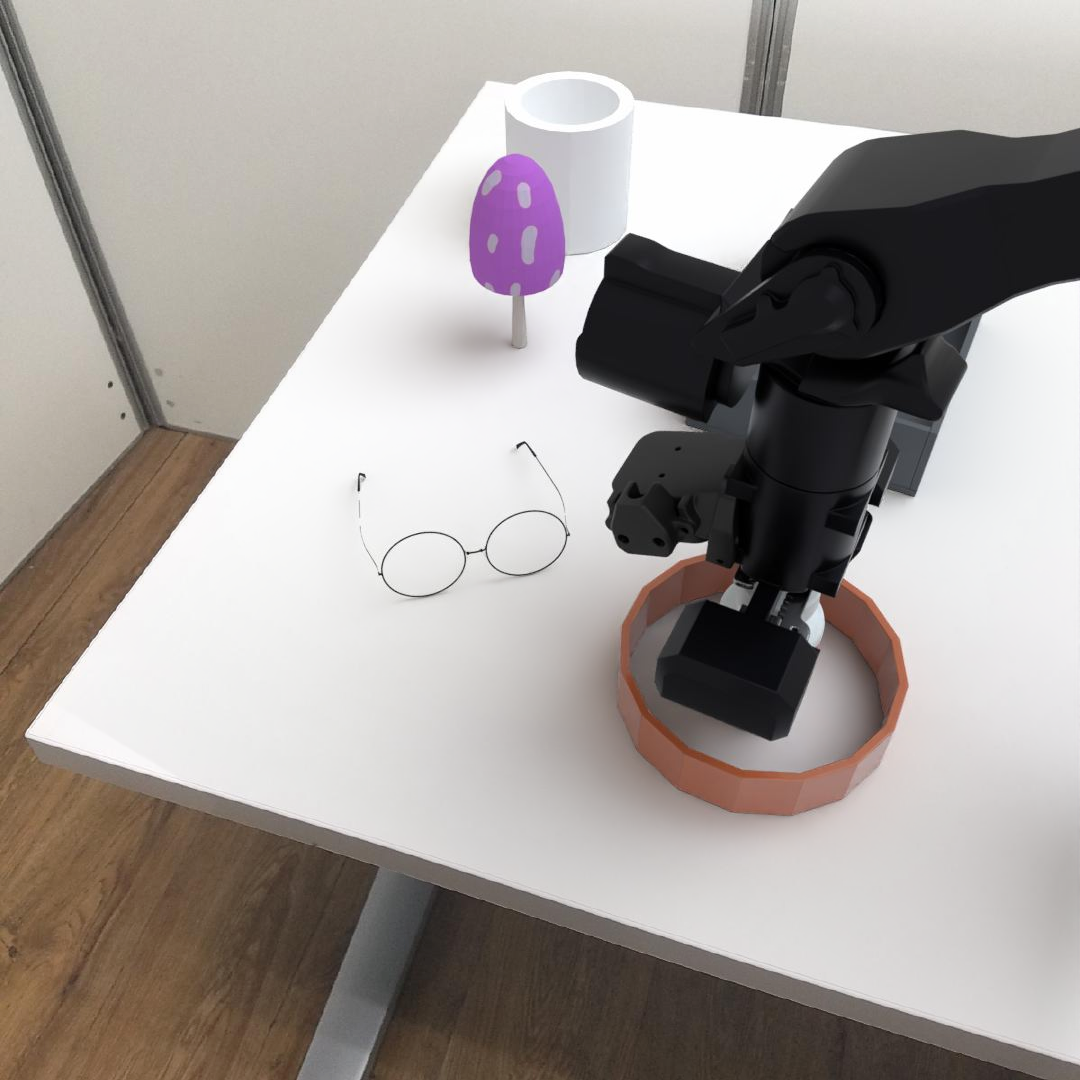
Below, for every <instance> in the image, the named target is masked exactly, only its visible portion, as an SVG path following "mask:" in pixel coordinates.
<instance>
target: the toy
mask: <svg viewBox="0 0 1080 1080" xmlns="http://www.w3.org/2000/svg"><path fill="white" fill-rule="evenodd" d="M468 235H469V236H468V252H469V263H470V269H471V273H472V275H473V278H474V279H475V280H476V281H477V283H478V284H479V285H480V286H482V287H483V288H484V289H486V290H488V291H490V292H491V293H494V294H498V295H501V296H509V297H512V299H511V300H512V304H511V305H512V306H511V307H512V310H511V311H512V312H511V315H512V316H511V322H512V323H511V345H512V346H513V348H515V349H523V348H525V347H526V346H527V345H528V336H527V335H528V334H527V319H526V317H527V316H526V305H525V297H526V296H531V295H537V294H540V293H542V292H544V291H546V290H549V289H550V288H552V287H553V286H554V285H555V284H556V283H558V281H560V279H561V277H562V275H564V269H565V261H566V254H565V233H564V224H563V219H562V215H561V210H560V206H559V202H558V198H557V196H556V193H555V190H554V188H553V185H552V183H551V182H550V180H549V178H548V177H547V175H546V173H545V172H544V170H543V169H542V168H541V167H540V166H539V165H538V164H537V163H536V162H535V161H534V160H533V159H531V158H529V157H527V156H524V155H521V154H509V155H507V156H506V155H503V156H502V157H499V158H498V159H497V160H496V161H495V162H494V163H493V164H492V165H491V166H490V167H489V168H488V169H487V171H486V172H485V174H484V176H483V178H482V180H481V181H480V184H479V185H478V188H477V190H476V194H475V197H474V200H473V203H472V208H471V214H470V220H469V234H468Z"/></svg>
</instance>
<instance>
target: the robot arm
mask: <svg viewBox="0 0 1080 1080" xmlns="http://www.w3.org/2000/svg"><path fill="white" fill-rule="evenodd" d="M785 217H786V216H785ZM785 217H784V218H785ZM783 220H784V219H783ZM783 220H782V221H781V223H780V224H779V226H778V227H777V228H776V229H775V231H773V233H772V234H771V236H770V238H768V239H767V240H766V241H765V242H764V244H763V245H762V246H761V247H760V249H759V250H758V251H757V252H756V254H755V255H754V256H753V257H752V259H751V260H750V261H749V262H748V263H747V264H746V266H745V267H744V268H743V269H742V271H739V270H736V269H733V268H730V267H726V266H724V265H720V264H717V263H714V262H710V261H708V260H705V259H701V258H698V257H695V256H692V255H688V254H686V253H682V252H679V251H677V250H673V249H671V248H669V247H667V246H665V245H663V244H661V243H660V242H658V241H656V240H653V239H651V238H648V237H646V236H643V235H639V234H636V233H634V232H633V233H632V232H629V233H627V234H626V235H625V236H624V237H623V238H621V239H620V240H619V241H618V242H617V243H616V244H615V245H614V247H613V248H612V249H610V251H609V252H608V253H607V254H606V255H605V256H604V258H603V277H602V279H601V280H600V283H599V285H598V287H597V288H596V290H595V292H594V295H593V297H592V299H591V302H590V304H589V307H588V310H587V312H586V316H585V319H584V323H583V326H582V331H581V333H580V334H579V335H578V337H577V339H576V341H575V348H574V349H575V351H574V357H575V367H576V370H577V372H578V373H577V374H578V375H579V376H580V378H581V379H583V380H586V381H588V382H591V383H593V384H597V385H599V386H602V387H604V388H607V389H610V390H612V391H614V392H618V393H621V394H622V395H625V396H628V397H631V398H634V399H635V400H638V401H642V402H644V403H647V404H650V405H652V406H655V407H658V408H660V409H663V410H665V411H669V412H671V413H674V414H676V415H678V416H681V417H685V418H686V417H687V418H690V419H692V420H695V421H700V422H703V423H707V422H708V421H709V419H710V417H711V414H712V412H713V410H714V409H715V407H716V406H717V404H720V405H723V406H726V407H728V408H733V407H734V406H735V405H736V404H737V403H738V402H739V401H740V400H741V398H742V396H743V395H744V393H745V391H746V390H747V388H748V386H749V384H750V382H751V379H752V377H753V375H754V372H755V370H756V367H757V364H760V368H759V373H758V379H757V384H756V390H755V395H754V401H753V406H752V412H751V417H750V423H749V428H748V433H747V437H746V439H743V438H735V437H728V436H726V435H725V434H722V433H718V432H709V431H689V430H688V431H687V430H684V431H683V430H655V431H651V432H649V433H647V434H645V435H643V436H642V437H641V438H639V439H638V441H636V443H635V444H634V446H633V447H632V449H631V451H630V453H629V454H628V456H627V457H626V459H625V460H624V462H623V463H622V464H621V466H620V468H619V470H618V471H617V472H616V474H615V476H614V477H613V479H612V480H611V481H612V482H611V488H612V493H611V494H610V496H609V497H608V499H607V500H606V504H607V507H608V511H609V512H608V516H607V517H606V519H605V520H604V524H605V526H606V528H607V529H608V530H609V531H611V533H612V535H613V539H614V541H615V543H616V545H617V547H618V548H619V549H620V550H622V551H623V552H624V553H626V554H629V555H637V556H647V557H657V558H668V557H670V556H671V555H672V554H673V553H674V551H675V549H676V547H677V546H678V544H679V543H683V544H693V545H694V544H703V543H706V542H707V547H706V553H705V554H706V558H705V561H708V562H711V563H713V564H716V565H719V566H722V567H725V568H727V569H731V568H732V566H733V564H734V563H737V564H739V567H738V569H737V571H736V573H735V575H734V580H733V583H734V584H735V585H736V586H739V587H741V588H744V589H750V590H753V588H754V584H756V582H758V585H757V587H756V589H755V592H754V594H753V596H752V598H751V600H750V602H749V604H748V606H747V605H745V604H742V605H741V607H740V610H739V611H737V610H735V609H732V608H729V607H727V606H724V605H721V604H720V603H718V602H716V601H713V600H710V599H707V598H706V599H702V600H698V601H694V602H691V603H687V604H686V603H685V605H684V607H683V608H682V610H681V612H680V614H679V616H678V618H677V620H676V622H675V624H674V625H673V627H672V630H671V631H670V633H669V635H668V637H667V639H666V641H665V642H664V645H663V647H662V649H661V650H660V652H659V655H658V656H657V658H656V663H655V673H654V680H653V684H654V686H655V688H656V690H657V692H658V694H659V697H660V698H662V699H664V700H667V701H670V702H672V703H674V704H677V705H680V706H682V707H684V708H686V709H689V710H692V711H695V712H697V713H699V714H701V715H704V716H707V717H709V718H712V719H715V720H717V721H718V722H722V723H724V724H726V725H729V726H732V727H734V728H737V729H739V730H741V731H744V732H746V733H749V734H751V735H754V736H756V737H759V738H760V739H761V738H762V739H764V740H767V741H769V742H773V741H777V740H780V739H783V738H787V737H789V734H790V732H791V729H792V727H793V724H794V721H795V719H796V717H797V714H798V712H799V710H800V706H801V705H802V702H803V699H804V696H805V694H806V691H807V689H808V686H809V683H810V681H811V677H812V675H813V673H814V669H815V667H816V663H817V660H818V658H819V655H820V653H821V648H816V647H813V646H811V645H810V643H809V642H808V640H809V637H810V633H811V631H810V628H809V626H808V624H806V623H805V622H804V621H803V620H802V618H801V617H802V614H803V612H804V610H805V607H806V605H807V603H808V600H809V598H810V596H811V593H812V591H816V592H819V593H821V594H824V595H827V596H830V597H833V598H835V597H836V594H837V592H838V589H839V587H840V584H841V582H842V579H843V578H844V577H845V574H846V573H847V570H848V567H849V565H850V563H851V562H852V561H853V560H854V559H855V558H856V557H857V556H858V555H859V554H860V552H861V551H862V548H863V546H864V543H865V541H866V538H867V535H868V533H869V531H870V528H871V526H872V523H873V520H874V517H873V514H872V513H871V512H870V511H869V510H868V506H869V505H870V506H872V507H875V508H878V509H879V508H880V506H881V504H882V502H883V500H884V497H885V494H886V492H887V489H888V488H887V487H888V484H889V482H890V479H891V477H892V474H893V471H894V468H895V465H896V462H897V459H898V456H899V453H900V450H899V448H898V447H897V446H896V444H895V443H894V442H893V440H892V439H891V437H890V433H891V430H892V427H893V424H894V421H895V418H896V415H897V411H900V412H903V413H905V414H908V415H911V416H914V417H917V418H920V419H923V420H926V421H929V422H936V421H939V420H940V419H941V418H942V417H943V415H944V413H945V411H946V409H947V407H948V405H949V406H950V404H949V403H951V402H952V400H953V398H954V396H955V394H956V391H957V390H958V388H959V387H960V384H961V382H962V380H963V379H964V377H965V375H966V373H967V371H968V366H969V365H968V363H967V360H966V361H965V359H964V358H963V357H962V356H961V355H960V354H959V353H958V351H957V350H956V349H955V348H954V347H953V346H952V345H950V344H948V343H947V342H946V341H945V340H944V339H943V337H942V335H944V334H947V333H949V332H951V331H953V330H955V329H957V328H959V327H960V326H962V325H964V324H966V323H968V322H970V321H972V320H973V319H975V318H977V317H979V316H981V315H982V316H983V315H985V314H987V313H989V312H990V311H992V310H995V308H998V307H1000V306H1002V305H1003V304H1005V303H1008V302H1009V301H1011V300H1014V299H1015V298H1017V297H1020V296H1024V295H1027V294H1030V293H1032V292H1035V291H1039V290H1042V289H1045V288H1048V287H1052V286H1057V285H1062V284H1067V283H1073V282H1074V283H1075V282H1080V127H1077V128H1074V129H1069V130H1066V131H1062V132H1057V133H1051V134H1039V135H1030V136H1029V135H1027V136H1020V137H1018V136H1017V137H1013V136H1006V135H1000V134H995V133H994V134H993V133H987V132H980V131H974V130H969V129H968V130H967V129H953V130H951V129H950V130H943V131H942V130H941V131H931V132H923V133H922V132H921V133H911V134H903V135H892V136H891V135H890V136H883V137H878V138H871V139H865V140H864V141H862V142H859V143H857V144H855V145H853V146H851V147H849V148H847V149H844V150H843V151H842V152H841V153H840V154H838V155H837V156H836V157H835V158H834V159H832V160H831V162H830V163H829V165H827V167H826V168H825V169H824V171H823V172H822V173H821V174H820V175H819V177H818V178H817V179H816V181H815V182H814V183H813V184H812V185H811V186H810V187H809V189H808V190H807V191H806V192H805V194H804V195H803V196H802V197H801V199H800V200H799V201H798V202H797V203H796V205H795V206H794V207H793V210H792V211H791V212H790V213H789V215H788V216H787V217H786V218H785V220H784V221H783ZM948 408H949V407H948ZM947 410H948V409H947ZM783 591H784V592H788V593H786V597H785V599H784V600H783V605H781V607H780V611H778V614H777V616H775V615H772V614H773V612H774V610H775V608H776V605H777V603H778V601H779V599H780V596H781V594H782V592H783Z"/></svg>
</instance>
